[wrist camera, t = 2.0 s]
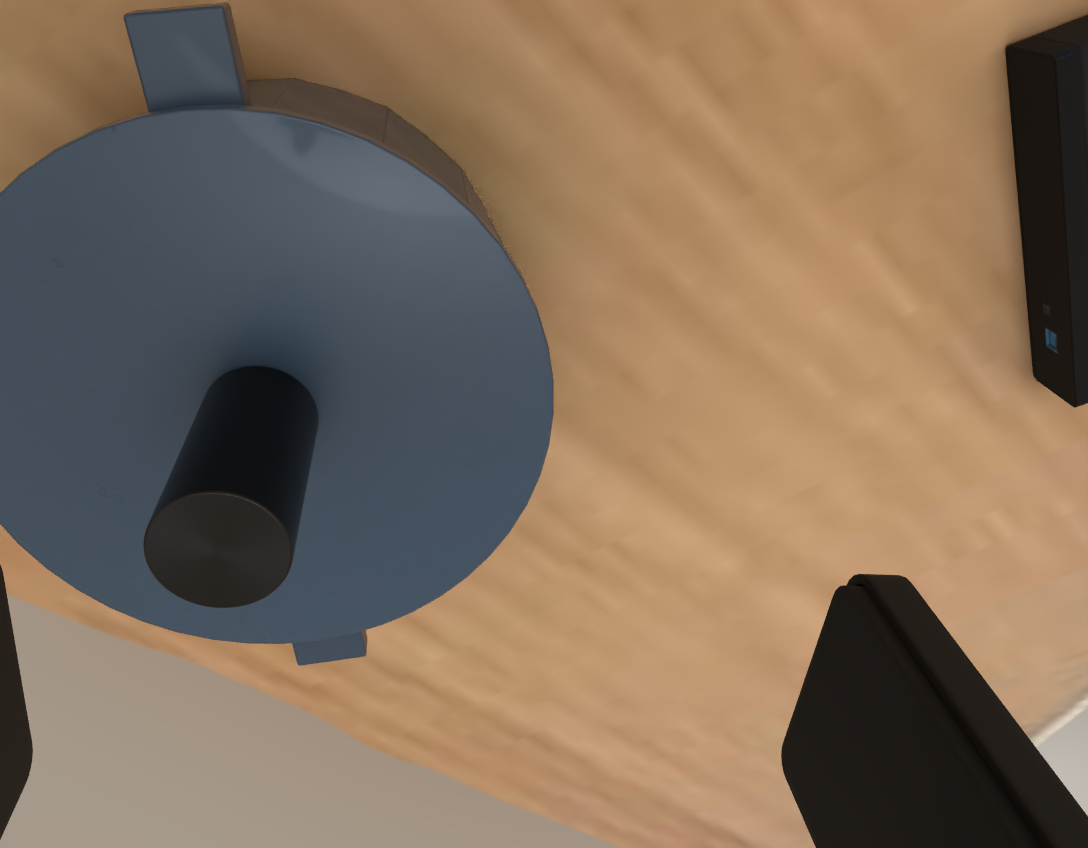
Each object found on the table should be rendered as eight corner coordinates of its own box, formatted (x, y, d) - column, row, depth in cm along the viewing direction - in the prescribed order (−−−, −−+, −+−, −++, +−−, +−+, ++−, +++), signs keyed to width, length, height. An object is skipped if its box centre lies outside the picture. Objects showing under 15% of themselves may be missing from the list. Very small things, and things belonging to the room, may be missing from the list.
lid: (65, 652, 31) (-32, 857, 24) (-157, 134, 23) (-397, 223, 16) (565, 583, 32) (606, 759, 25) (525, 69, 24) (569, 126, 17)
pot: (158, 558, 39) (98, 709, 31) (-29, 12, 28) (-184, 42, 21) (528, 509, 40) (554, 644, 32) (475, -32, 30) (496, -18, 22)
